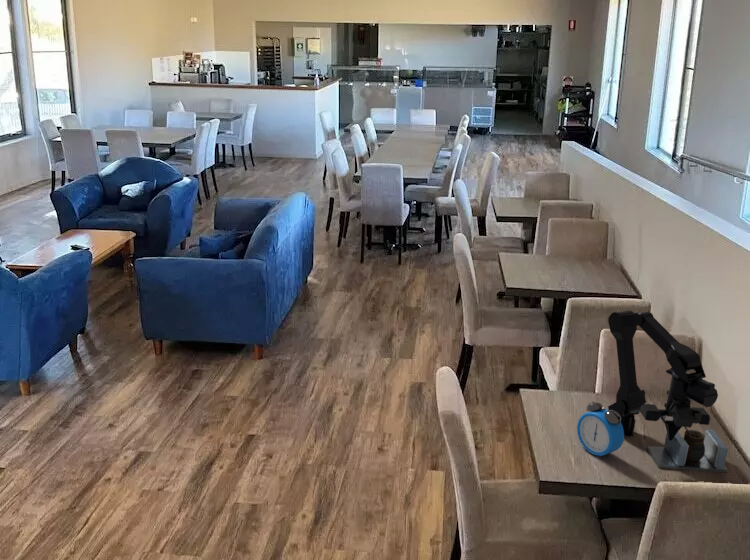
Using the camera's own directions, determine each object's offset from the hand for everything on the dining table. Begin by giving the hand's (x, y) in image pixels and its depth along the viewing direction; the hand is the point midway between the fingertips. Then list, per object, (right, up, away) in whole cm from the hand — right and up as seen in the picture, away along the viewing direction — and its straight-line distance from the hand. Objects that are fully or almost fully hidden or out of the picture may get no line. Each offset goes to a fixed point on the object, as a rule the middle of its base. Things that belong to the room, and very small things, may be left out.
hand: (669, 439), depth 223 cm
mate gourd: (+7, -6, +2) cm, 9 cm away
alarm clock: (-20, -5, +4) cm, 21 cm away
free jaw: (+2, -5, +2) cm, 6 cm away
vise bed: (+6, -7, +2) cm, 9 cm away
